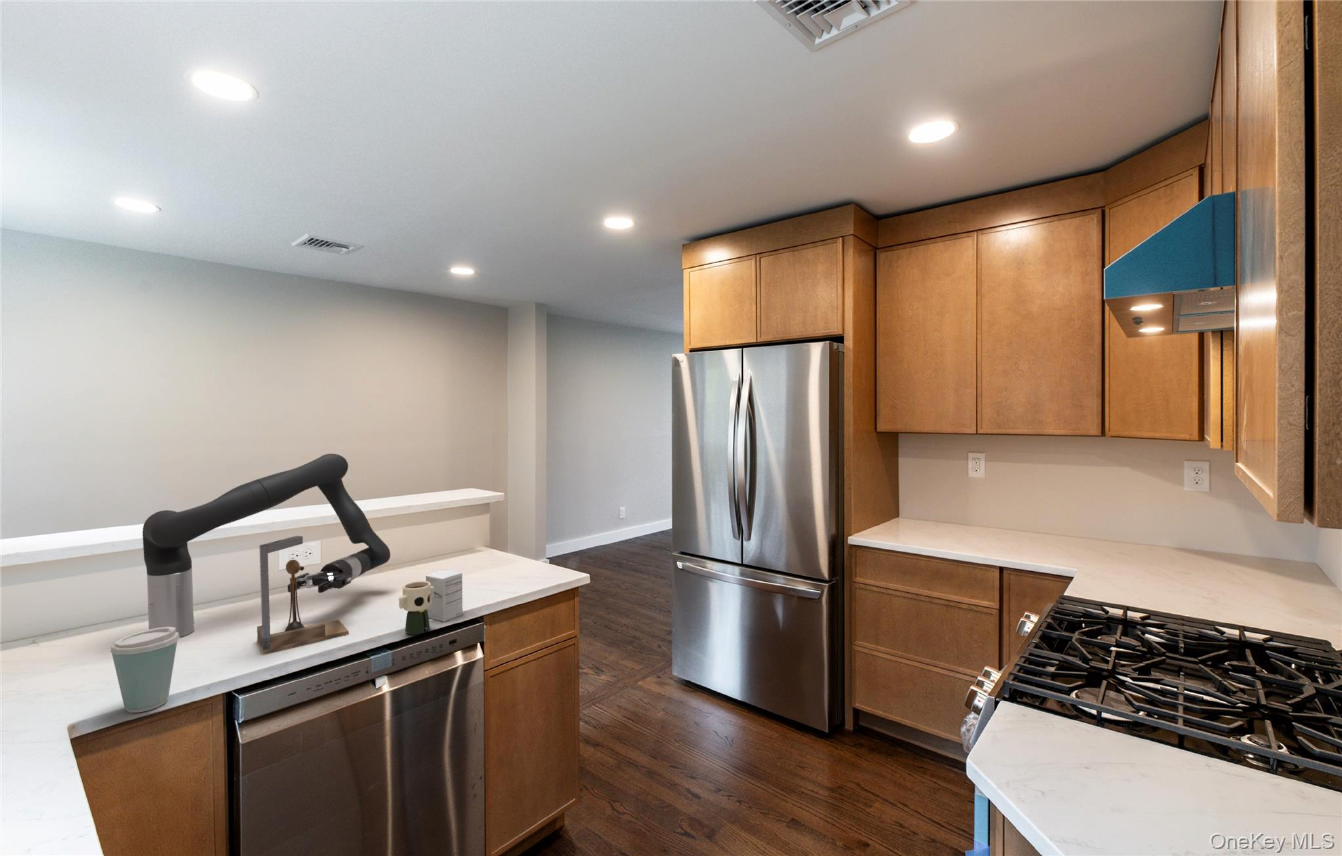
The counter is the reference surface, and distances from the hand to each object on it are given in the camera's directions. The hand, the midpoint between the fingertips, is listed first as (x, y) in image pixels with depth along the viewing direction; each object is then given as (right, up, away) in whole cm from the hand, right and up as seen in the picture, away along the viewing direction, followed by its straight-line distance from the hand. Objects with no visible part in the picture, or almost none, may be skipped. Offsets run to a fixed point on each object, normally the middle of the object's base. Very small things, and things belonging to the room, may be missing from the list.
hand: (304, 589), depth 160 cm
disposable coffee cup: (-9, -14, -38) cm, 41 cm away
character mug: (+30, -12, +1) cm, 33 cm away
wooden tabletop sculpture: (0, -11, -4) cm, 12 cm away
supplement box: (+33, -12, +13) cm, 37 cm away
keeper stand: (+2, -12, -3) cm, 13 cm away
